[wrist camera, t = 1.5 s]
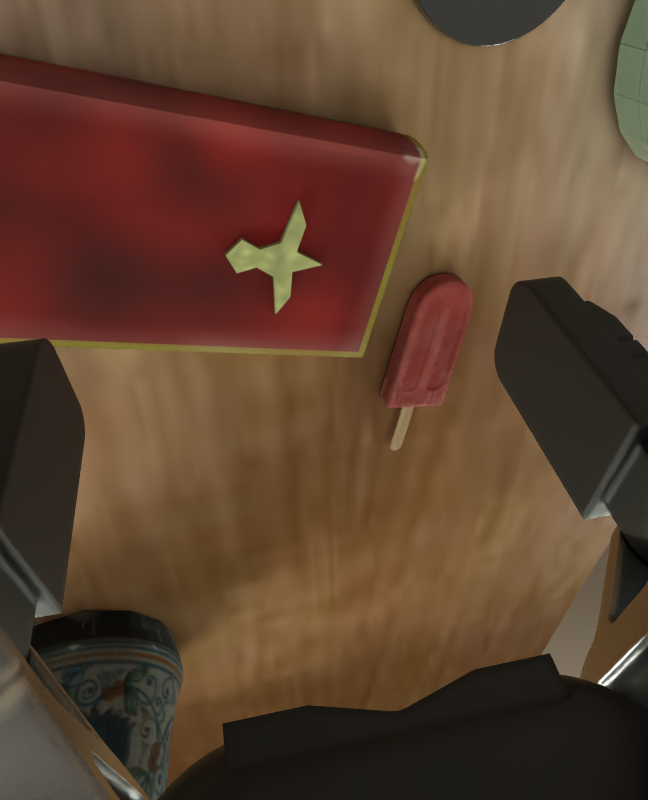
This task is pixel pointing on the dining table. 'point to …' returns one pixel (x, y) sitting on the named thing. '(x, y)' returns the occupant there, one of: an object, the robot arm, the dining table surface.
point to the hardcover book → (191, 218)
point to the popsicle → (426, 348)
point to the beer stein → (119, 684)
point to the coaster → (486, 18)
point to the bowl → (634, 81)
